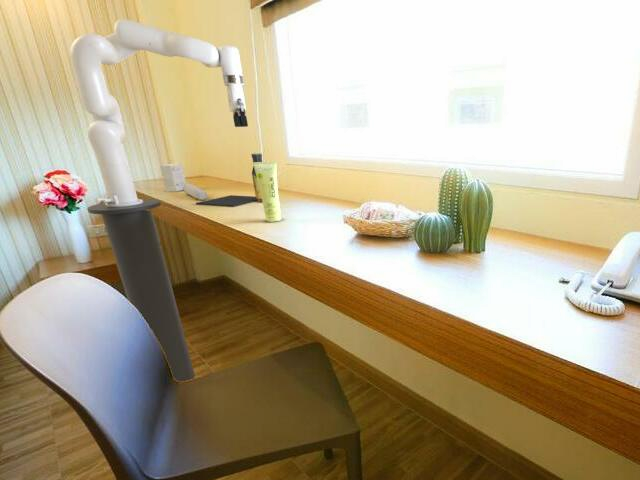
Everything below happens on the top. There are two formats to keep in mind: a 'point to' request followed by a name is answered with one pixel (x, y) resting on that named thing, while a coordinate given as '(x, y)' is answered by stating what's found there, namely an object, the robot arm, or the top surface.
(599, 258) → the top surface
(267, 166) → the tube
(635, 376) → the top surface
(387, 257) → the top surface
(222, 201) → the mat
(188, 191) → the tube
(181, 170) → the small box
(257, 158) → the sauce bottle
